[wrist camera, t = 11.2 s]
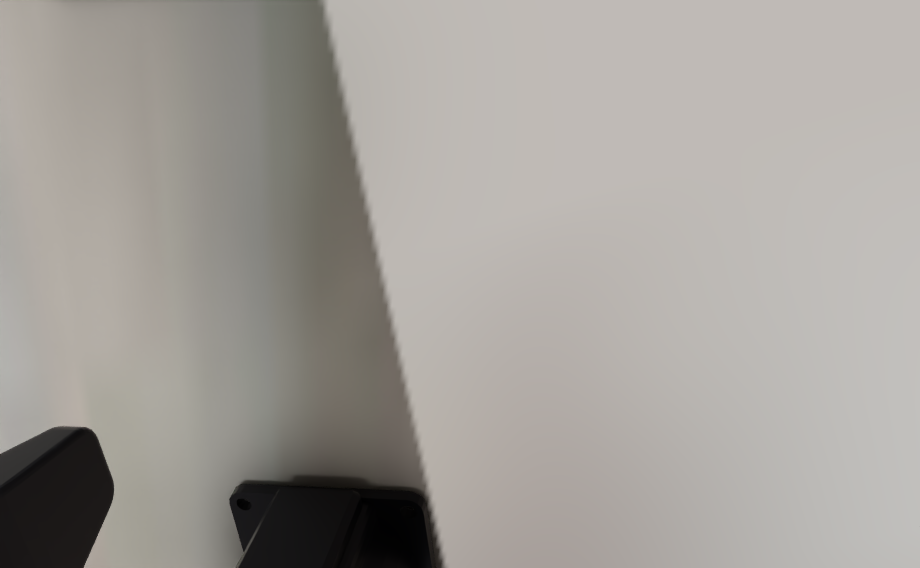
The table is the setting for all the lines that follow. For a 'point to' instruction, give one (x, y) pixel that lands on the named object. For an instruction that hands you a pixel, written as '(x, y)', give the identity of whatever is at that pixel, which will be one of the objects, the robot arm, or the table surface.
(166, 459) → the table surface
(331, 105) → the table surface
